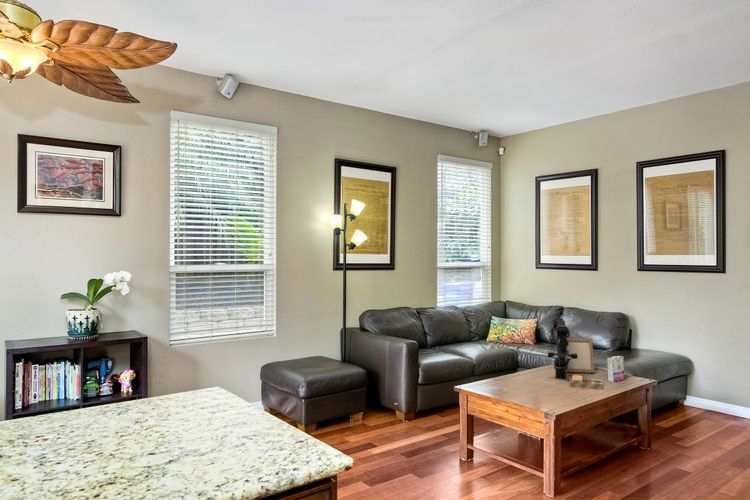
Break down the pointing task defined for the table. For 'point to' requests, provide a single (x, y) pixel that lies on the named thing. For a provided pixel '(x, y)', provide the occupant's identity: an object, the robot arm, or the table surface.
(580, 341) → the photo frame
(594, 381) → the chute
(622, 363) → the candy bar box
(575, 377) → the block
